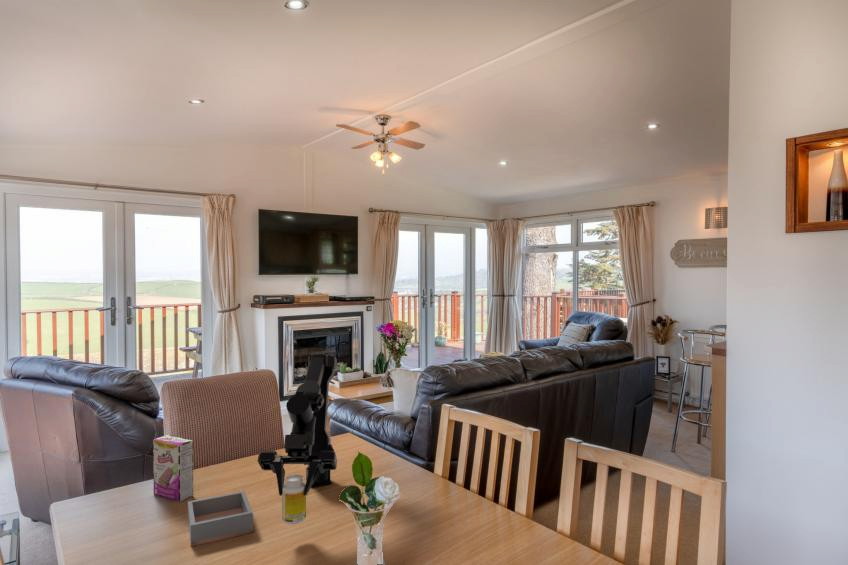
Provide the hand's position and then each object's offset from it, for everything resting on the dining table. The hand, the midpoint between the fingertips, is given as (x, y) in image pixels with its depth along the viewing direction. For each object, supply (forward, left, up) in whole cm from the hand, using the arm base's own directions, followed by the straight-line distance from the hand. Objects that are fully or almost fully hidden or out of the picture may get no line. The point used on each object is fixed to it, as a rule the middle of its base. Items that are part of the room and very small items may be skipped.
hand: (292, 495), depth 121 cm
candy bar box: (+25, -41, -12) cm, 50 cm away
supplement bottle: (-1, -1, -7) cm, 7 cm away
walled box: (+15, -16, -12) cm, 25 cm away
